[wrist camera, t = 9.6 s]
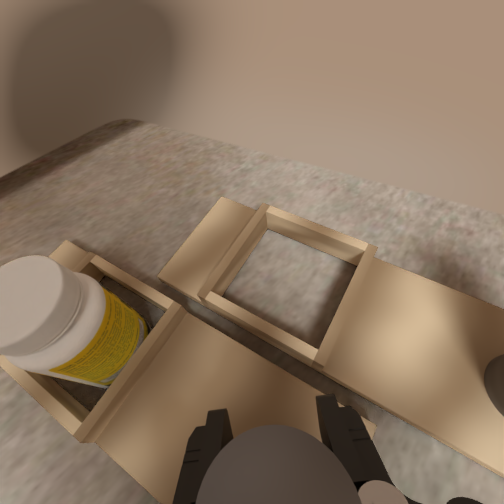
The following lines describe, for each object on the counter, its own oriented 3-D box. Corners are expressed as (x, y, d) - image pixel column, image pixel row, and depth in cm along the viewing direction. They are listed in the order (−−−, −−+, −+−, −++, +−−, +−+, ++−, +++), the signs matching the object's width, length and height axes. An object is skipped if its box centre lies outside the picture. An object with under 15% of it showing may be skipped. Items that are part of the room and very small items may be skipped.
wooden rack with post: (-17, 332, 20) (-234, 263, 12) (72, 245, 23) (-48, 141, 15) (303, 625, 12) (342, 1109, 3) (372, 425, 15) (480, 419, 7)
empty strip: (160, 281, 21) (75, 180, 12) (223, 203, 24) (188, 81, 16) (584, 524, 12) (1199, 718, 4) (592, 353, 16) (942, 264, 7)
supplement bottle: (161, 311, 20) (88, 244, 12) (147, 388, 17) (46, 359, 10) (94, 313, 20) (-13, 249, 13) (71, 388, 18) (-77, 360, 10)
